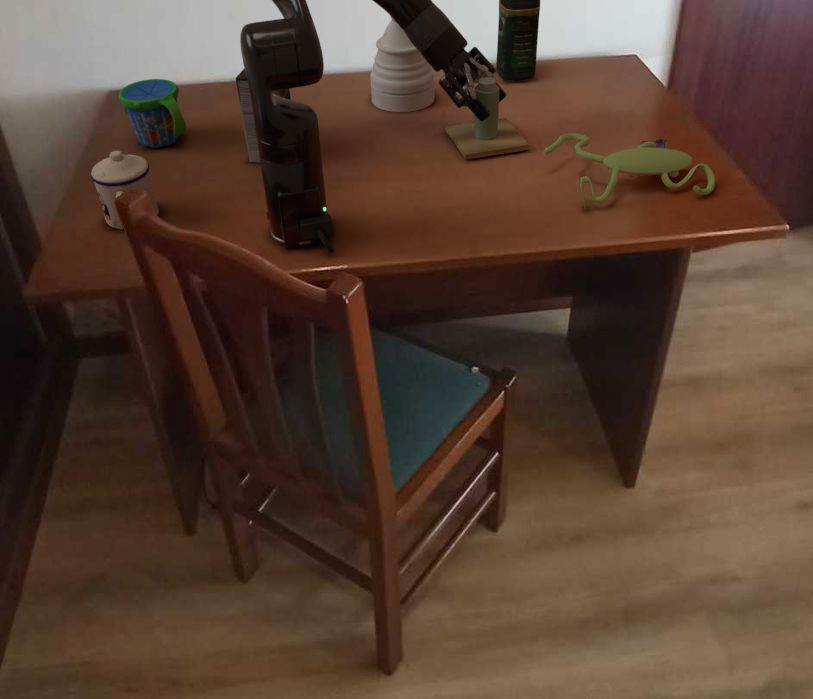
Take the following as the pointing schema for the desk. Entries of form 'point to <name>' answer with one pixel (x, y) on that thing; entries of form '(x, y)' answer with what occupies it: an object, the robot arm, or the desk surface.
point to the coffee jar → (517, 39)
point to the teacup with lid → (121, 182)
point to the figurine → (638, 164)
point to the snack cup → (153, 111)
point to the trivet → (477, 148)
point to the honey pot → (400, 74)
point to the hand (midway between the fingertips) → (494, 108)
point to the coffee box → (251, 114)
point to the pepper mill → (490, 99)
